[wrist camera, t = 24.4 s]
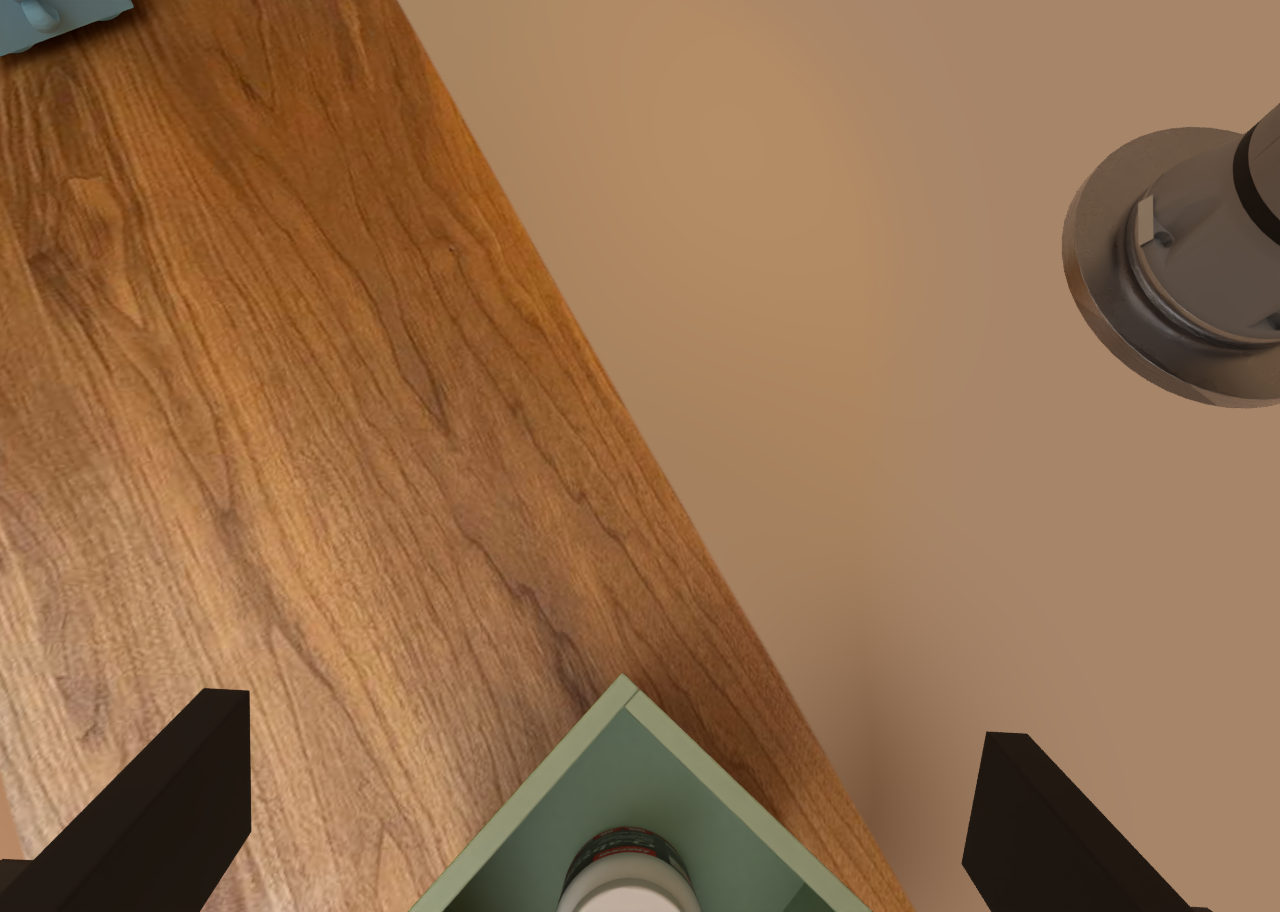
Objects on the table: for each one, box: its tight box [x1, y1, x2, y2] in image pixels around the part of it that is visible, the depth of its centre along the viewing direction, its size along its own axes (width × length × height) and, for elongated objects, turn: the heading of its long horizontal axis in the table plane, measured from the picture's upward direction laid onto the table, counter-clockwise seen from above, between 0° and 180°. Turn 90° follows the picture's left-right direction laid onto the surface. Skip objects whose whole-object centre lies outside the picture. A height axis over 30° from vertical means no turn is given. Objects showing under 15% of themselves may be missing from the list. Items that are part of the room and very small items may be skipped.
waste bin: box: [408, 673, 873, 912], centre depth 36 cm, size 13×13×23 cm
